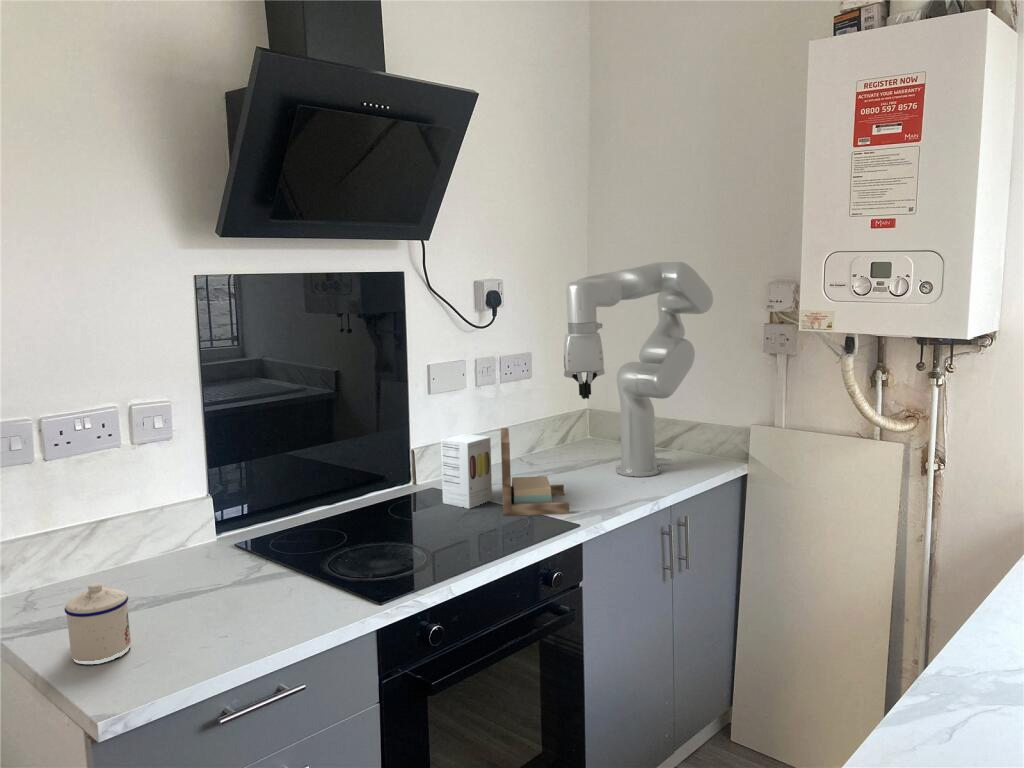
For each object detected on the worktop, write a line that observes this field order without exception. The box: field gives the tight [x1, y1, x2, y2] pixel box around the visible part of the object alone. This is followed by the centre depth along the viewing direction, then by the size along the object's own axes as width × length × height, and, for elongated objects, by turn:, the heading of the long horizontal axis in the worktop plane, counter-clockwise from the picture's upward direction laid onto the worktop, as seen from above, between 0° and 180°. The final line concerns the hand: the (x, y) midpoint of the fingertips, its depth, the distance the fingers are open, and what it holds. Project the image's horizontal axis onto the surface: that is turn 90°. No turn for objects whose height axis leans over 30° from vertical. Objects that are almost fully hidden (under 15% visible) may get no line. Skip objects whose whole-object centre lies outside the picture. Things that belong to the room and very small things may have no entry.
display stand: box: [500, 427, 571, 517], centre depth 208 cm, size 16×17×18 cm
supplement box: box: [440, 433, 493, 510], centre depth 211 cm, size 10×9×17 cm
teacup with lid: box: [64, 582, 132, 661], centre depth 133 cm, size 12×9×12 cm
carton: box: [511, 475, 553, 504], centre depth 208 cm, size 9×12×6 cm
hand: (585, 397), depth 220 cm, fingers closed
